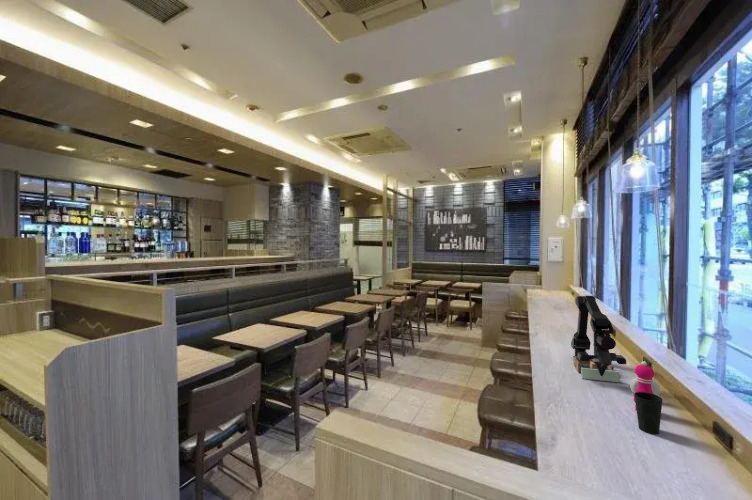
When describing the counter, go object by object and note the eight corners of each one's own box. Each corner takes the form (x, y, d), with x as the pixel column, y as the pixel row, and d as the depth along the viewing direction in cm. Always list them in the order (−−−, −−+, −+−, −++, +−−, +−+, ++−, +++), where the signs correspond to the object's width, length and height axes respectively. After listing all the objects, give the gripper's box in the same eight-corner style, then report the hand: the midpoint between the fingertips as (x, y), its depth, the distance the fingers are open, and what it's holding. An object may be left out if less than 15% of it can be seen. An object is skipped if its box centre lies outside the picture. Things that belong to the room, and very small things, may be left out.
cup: (665, 438, 111) (664, 403, 111) (636, 432, 115) (636, 398, 115) (660, 427, 117) (659, 394, 117) (633, 422, 121) (632, 390, 121)
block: (592, 373, 165) (591, 363, 165) (590, 371, 169) (590, 361, 169) (601, 374, 164) (601, 364, 164) (599, 371, 167) (599, 362, 167)
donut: (659, 400, 137) (659, 377, 137) (661, 404, 134) (661, 380, 134) (629, 396, 142) (629, 373, 142) (631, 399, 139) (630, 375, 139)
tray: (576, 369, 173) (576, 360, 173) (611, 373, 167) (611, 363, 167) (582, 378, 162) (581, 368, 162) (619, 382, 156) (619, 371, 156)
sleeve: (573, 365, 180) (573, 356, 180) (606, 368, 175) (606, 358, 175) (578, 373, 169) (578, 363, 169) (613, 376, 164) (613, 366, 164)
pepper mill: (651, 418, 124) (650, 365, 124) (629, 410, 130) (628, 360, 130) (661, 413, 127) (659, 362, 127) (639, 405, 133) (638, 357, 133)
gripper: (582, 346, 152) (582, 379, 152) (630, 350, 146) (631, 384, 146) (576, 340, 163) (577, 371, 163) (621, 343, 156) (622, 375, 156)
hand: (601, 375), depth 157 cm, fingers closed
